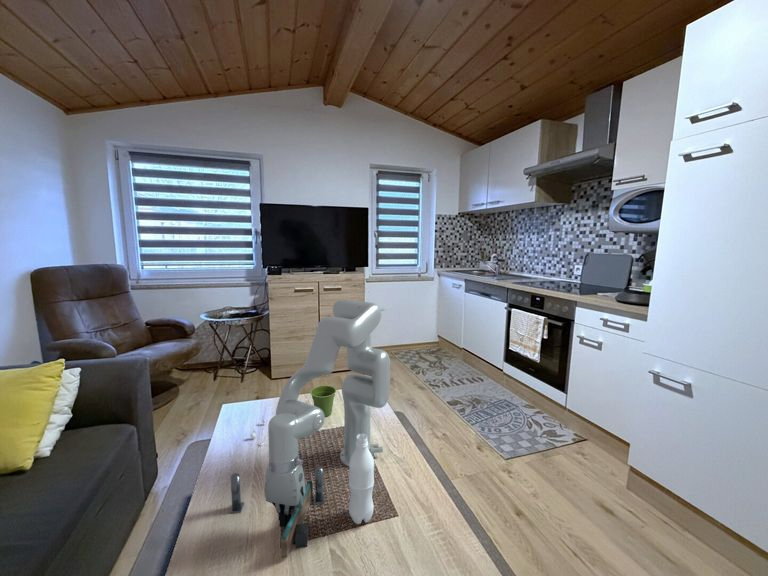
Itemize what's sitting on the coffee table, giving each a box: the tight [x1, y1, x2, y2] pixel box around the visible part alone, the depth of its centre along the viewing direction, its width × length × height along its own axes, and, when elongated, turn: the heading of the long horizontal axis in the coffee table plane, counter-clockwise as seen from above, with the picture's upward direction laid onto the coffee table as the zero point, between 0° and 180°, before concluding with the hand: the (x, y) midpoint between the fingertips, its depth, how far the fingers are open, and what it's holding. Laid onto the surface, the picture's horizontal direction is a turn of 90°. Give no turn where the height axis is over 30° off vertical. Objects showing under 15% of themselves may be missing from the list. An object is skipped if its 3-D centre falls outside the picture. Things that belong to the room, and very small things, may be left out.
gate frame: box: [228, 465, 326, 549], centre depth 91 cm, size 27×17×11 cm, turn 99°
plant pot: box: [309, 384, 337, 418], centre depth 150 cm, size 12×12×11 cm
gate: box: [280, 479, 314, 558], centre depth 90 cm, size 20×2×6 cm, turn 174°
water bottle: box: [348, 434, 375, 525], centre depth 93 cm, size 7×7×25 cm
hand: (285, 522), depth 89 cm, fingers closed
